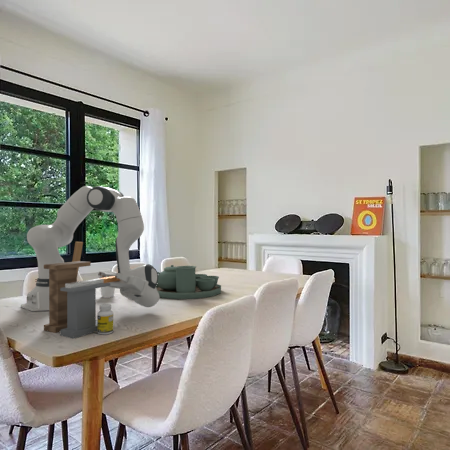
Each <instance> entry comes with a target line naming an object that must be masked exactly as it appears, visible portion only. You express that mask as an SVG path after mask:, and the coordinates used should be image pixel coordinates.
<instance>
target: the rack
mask: <svg viewBox="0 0 450 450" xmlns="http://www.w3.org/2000/svg"><path fill="white" fill-rule="evenodd" d="M106 286H110V283H102V284H96V285H90V286H84V287H79V288H73V289H68V288H65V287H63V288H60V291H66V292H67V328H65V329H61V330H60V332H59V333H60V335H59V336H61V337H64V338H65V337H66V338H70V339H76V338H80V337H83V336H86V335H90V334H93V333H96V332H97V318H96V317H97V316H96V310H97V309H96V306H97V305H96V301H97V299H96V295H97V294H96V293H97V291H96V290H97V289H99V288H100V289H101V287H106Z"/></svg>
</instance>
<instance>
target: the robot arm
mask: <svg viewBox="0 0 450 450" xmlns="http://www.w3.org/2000/svg"><path fill="white" fill-rule="evenodd" d="M93 210H97V211H101V212H104V213H105V212H106V213H113V214H114V215H115V218H116V222H117V226H118V229H117V230H118V233H117V236H116V238H115V242H114V243H115V244H114V245H115V256H116V266H117V273H116V275H112V274H105V273H104V272H105V271H98V273H97V275H98V277H99V276H100V278H104V277H111V276H115V277H116V278H118V279H120V281H114V282H108V283H110V286H108V287H111V288H115V289H119V293H120V294H121V296H122V297H124V298H127V299H128V300H130V301H134V303H136V304H137V305H139V306H141V307H144V308H152V307H154V306H155V305H157V303H159V300H160V297H159V293H158V291H157V288H156V286H157V281H158V275H159V274H158V273H157V272H158V271H157V270H156V268H155V267H154V266H153V265H151V264H148V263H146V264H142V265H139V266H137V267H133V268H131V265H130V264H131V263H130V253H129V250H130V248H131V246H132V245H133V244H135V242H136V241H137V240H138V239H140V237H142V235H143V233H144V230H145V224H144V220H143V215H142V213H141V210H140V208H139V205H138V203H137V201H136V200H135V198H133V197H132V196H125V195H124V194H123V193H122V192H121V191H120V190H117V189H114V188H112V187H105V186H101V185H98V186H94V187H93V186H88V185H83V186H82V187H80V188H79V189H78V190H76V191H75V192H74V193H73V194H72V195H71V196H69V198H68V199H66V201H65V202H64V203H63V204H62V205H61V206H60V208H59V209H58V210H57V212H56V214H57V215H56V219H55V221H54V222H53V223H51V224H39V225H36V226H33V227H31V228H30V229H29V230H28V231H27V234H26V240H27V243H28V244H29V246H31V248H32V249H33V251H34V252H35V255H36V259H37V271H38V272H37V279H35V280H34V281H35V287H34V288H33V289H32V290H30V291H29V292H28V293H27V295H26V303H23V304H21V305H20V307H21V308H22V309H24V310H27V311H30V312H41V311H49V269H44V265H45V264H55V263H65V260H64V258H63V257H62V256H61V254H60V251H59V248H62V247H66V246H67V245H70V243H72V241H73V239H74V233H75V231H76V230H77V228H78V227H79V225H80V224H81V223H82V222H83V221H84V219H86V217H87V216H88V215H89V214H90V213H91V211H93Z"/></svg>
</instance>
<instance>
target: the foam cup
mask: <svg viewBox="0 0 450 450" xmlns="http://www.w3.org/2000/svg"><path fill="white" fill-rule="evenodd" d="M103 272H104V273H105V274H112V275H116V273H118V271H103ZM98 278H100V276H98ZM115 290H116V288H111V287H108V286H106V287H101V288H100V293H101V298H105V299H106V298H108V299H109V298H113V297H115V296H114V295H115Z"/></svg>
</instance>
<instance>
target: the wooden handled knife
mask: <svg viewBox="0 0 450 450" xmlns="http://www.w3.org/2000/svg"><path fill="white" fill-rule="evenodd" d="M114 281H120V279H118V278H116V277H115V276H111V277H104V278H99V277H98V278H93V279H85V280H79V281H78V280H77V282H72V283H65V288H68V289H73V288H79V287H84V286H90V285H96V284H102V283H108V282H114Z"/></svg>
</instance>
